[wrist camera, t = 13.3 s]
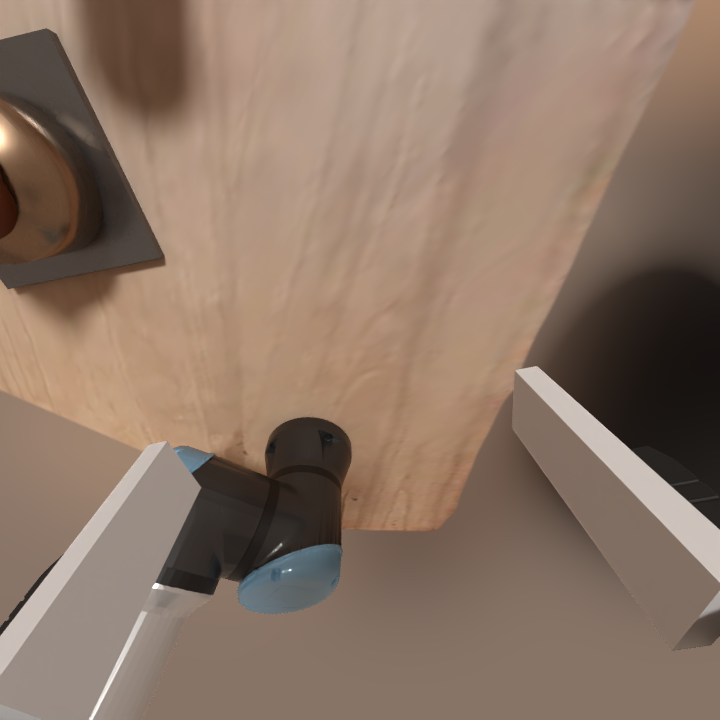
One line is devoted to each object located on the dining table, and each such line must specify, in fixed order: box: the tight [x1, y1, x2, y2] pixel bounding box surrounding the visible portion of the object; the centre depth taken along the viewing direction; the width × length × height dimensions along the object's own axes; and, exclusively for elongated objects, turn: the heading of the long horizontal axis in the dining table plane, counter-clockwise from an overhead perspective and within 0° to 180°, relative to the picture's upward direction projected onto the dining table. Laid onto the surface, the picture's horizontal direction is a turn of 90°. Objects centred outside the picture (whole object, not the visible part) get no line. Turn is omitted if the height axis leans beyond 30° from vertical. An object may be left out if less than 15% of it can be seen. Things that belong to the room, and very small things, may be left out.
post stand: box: [0, 28, 165, 289], centre depth 30 cm, size 20×20×7 cm
